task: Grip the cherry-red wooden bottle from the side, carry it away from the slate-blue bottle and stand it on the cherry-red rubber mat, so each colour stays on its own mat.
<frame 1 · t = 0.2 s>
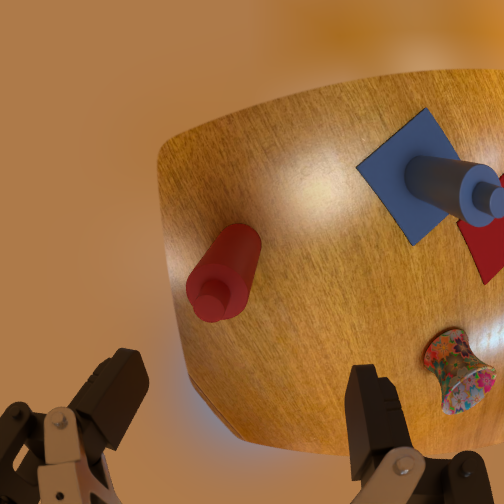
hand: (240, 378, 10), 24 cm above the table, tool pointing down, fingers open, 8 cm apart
mug: (443, 353, 37), on the table
blue bottle: (423, 177, 28), resting on blue mat
red bottle: (239, 244, 34), on the table
blue mat: (421, 176, 29), on the table
red mat: (497, 229, 29), on the table
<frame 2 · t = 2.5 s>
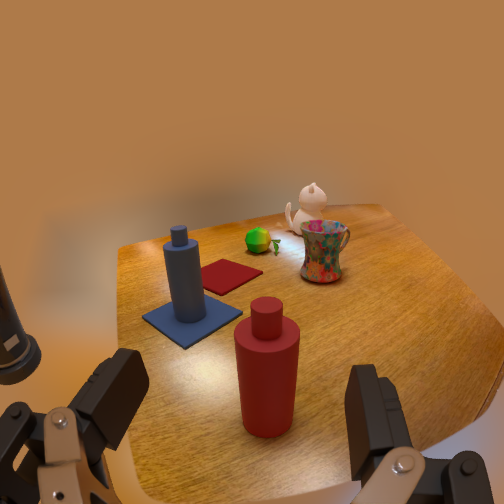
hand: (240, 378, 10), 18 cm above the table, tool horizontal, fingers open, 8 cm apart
mug: (325, 275, 58), on the table
cat figurine: (305, 234, 85), on the table
blue bottle: (190, 314, 45), resting on blue mat
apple: (262, 252, 72), on the table
red bottle: (267, 418, 26), on the table
blue mat: (191, 316, 46), on the table
red mat: (222, 276, 60), on the table
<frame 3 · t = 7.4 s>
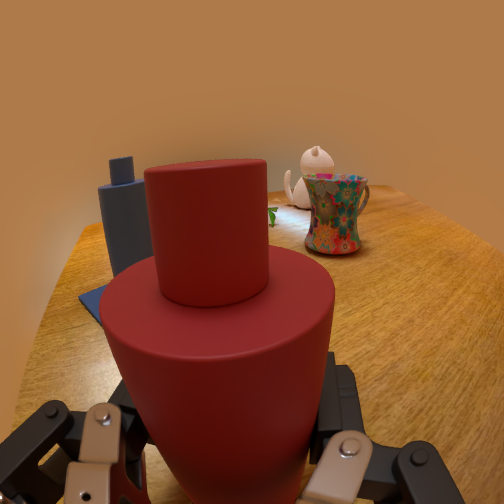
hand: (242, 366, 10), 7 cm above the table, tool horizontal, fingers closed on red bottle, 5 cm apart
mug: (339, 247, 43), on the table
cat figurine: (308, 207, 69), on the table
blue bottle: (141, 294, 30), resting on blue mat
red bottle: (244, 490, 11), on the table, touching gripper
blue mat: (142, 298, 30), on the table
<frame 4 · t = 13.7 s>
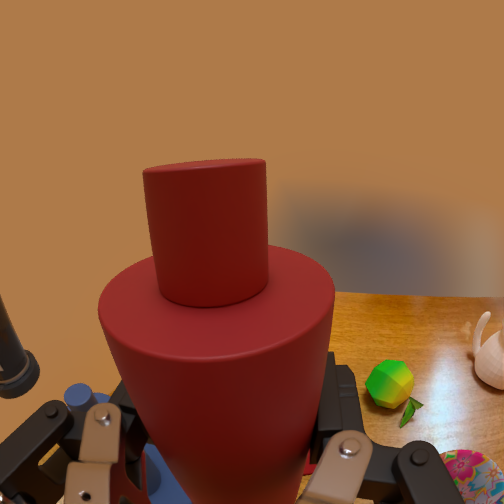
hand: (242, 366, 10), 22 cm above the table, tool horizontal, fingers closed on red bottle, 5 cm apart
cat figurine: (489, 374, 29), on the table
blue bottle: (138, 478, 21), resting on blue mat
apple: (390, 404, 30), on the table
red bottle: (244, 490, 10), point 15 cm above the table, touching gripper
blue mat: (139, 480, 21), on the table
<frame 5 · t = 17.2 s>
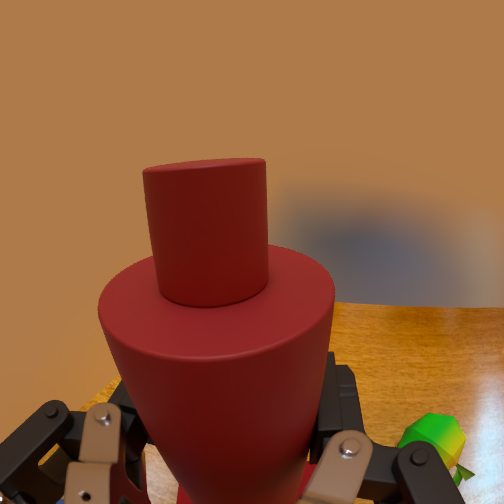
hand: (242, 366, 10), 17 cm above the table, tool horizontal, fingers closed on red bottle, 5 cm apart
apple: (426, 468, 16), on the table
red bottle: (244, 490, 10), point 10 cm above the table, touching gripper
when the fingers open (7 cm above the table, at t = 20.2 s): red bottle stays where it is, resting on red mat.
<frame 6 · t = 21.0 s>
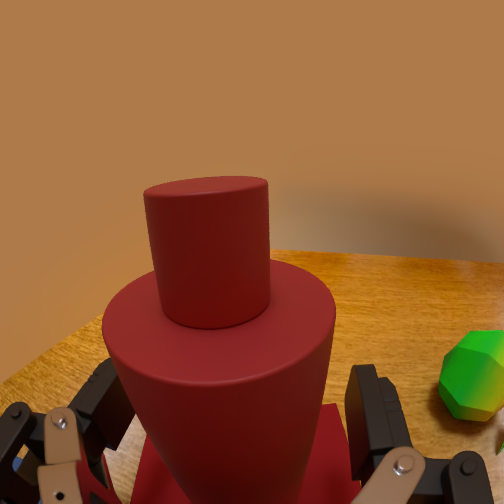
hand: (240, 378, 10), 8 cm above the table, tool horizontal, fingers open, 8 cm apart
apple: (473, 413, 13), on the table
red bottle: (245, 494, 11), resting on red mat
red mat: (245, 495, 11), on the table
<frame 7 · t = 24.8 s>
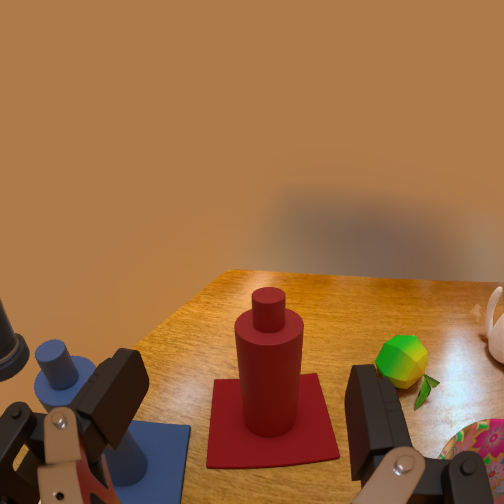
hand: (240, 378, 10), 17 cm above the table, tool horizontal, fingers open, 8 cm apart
cat figurine: (503, 355, 27), on the table
blue bottle: (122, 464, 19), resting on blue mat
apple: (402, 385, 28), on the table
red bottle: (270, 417, 25), resting on red mat
blue mat: (123, 467, 19), on the table
red mat: (269, 419, 26), on the table
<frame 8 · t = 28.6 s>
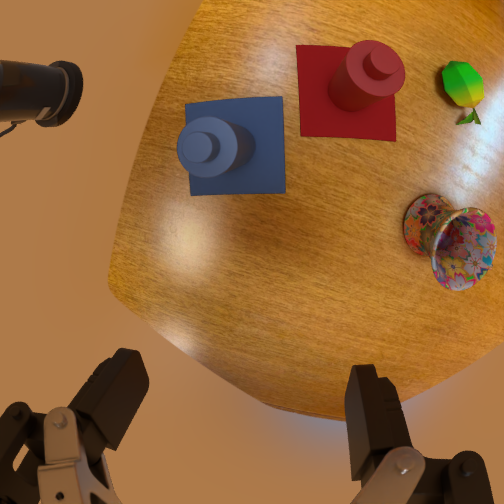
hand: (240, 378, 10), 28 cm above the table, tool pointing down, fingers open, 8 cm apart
mug: (434, 227, 34), on the table
blue bottle: (234, 146, 33), resting on blue mat
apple: (455, 94, 27), on the table
red bottle: (348, 91, 29), resting on red mat
blue mat: (234, 146, 34), on the table
red mat: (347, 91, 29), on the table
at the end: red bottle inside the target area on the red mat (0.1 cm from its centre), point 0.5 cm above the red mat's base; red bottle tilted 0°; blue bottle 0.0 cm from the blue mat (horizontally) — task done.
